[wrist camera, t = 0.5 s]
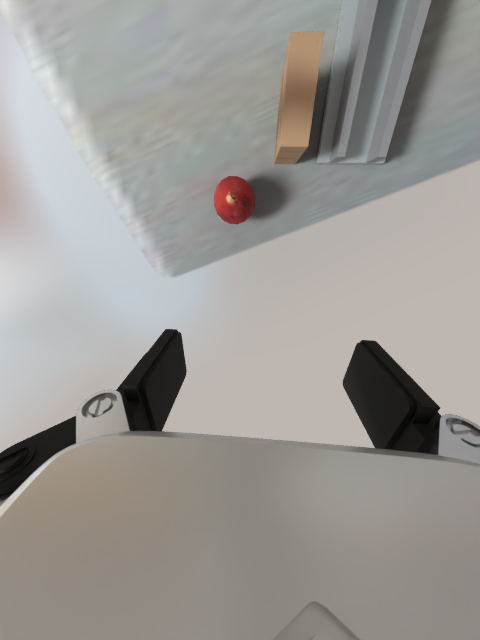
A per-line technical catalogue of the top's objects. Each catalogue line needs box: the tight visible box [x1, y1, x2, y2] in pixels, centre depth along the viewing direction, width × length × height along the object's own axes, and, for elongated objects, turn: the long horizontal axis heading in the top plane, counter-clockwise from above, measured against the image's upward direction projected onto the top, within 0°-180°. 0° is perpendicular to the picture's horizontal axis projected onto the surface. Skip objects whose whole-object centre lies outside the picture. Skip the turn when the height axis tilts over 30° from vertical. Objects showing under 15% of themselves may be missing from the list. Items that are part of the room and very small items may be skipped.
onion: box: [214, 176, 255, 224], centre depth 28 cm, size 6×6×8 cm
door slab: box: [274, 31, 324, 164], centre depth 23 cm, size 8×3×8 cm, turn 179°
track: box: [316, 0, 431, 165], centre depth 21 cm, size 16×9×8 cm, turn 179°
